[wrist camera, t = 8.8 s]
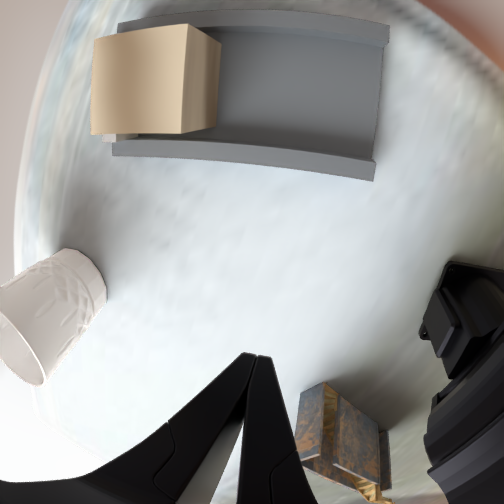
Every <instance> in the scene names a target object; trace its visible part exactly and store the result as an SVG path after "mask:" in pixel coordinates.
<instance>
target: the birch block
mask: <svg viewBox="0 0 504 504" xmlns="http://www.w3.org/2000/svg"><path fill="white" fill-rule="evenodd" d="M221 47H222V44H221V43H219V42H218V41H216V40H215V39H213V38H211V37H210V36H208V35H207V34H205V33H203V32H202V31H200V30H198V29H196V28H195V27H193V26H191V25H190V24H178V25H169V26H161V27H154V28H147V29H141V30H135V31H130V32H124V33H119V34H115V35H110V36H105V37H101V38H97V39H95V40H94V50H93V63H92V79H91V135H97V134H129V133H168V134H182V133H187V132H191V131H196V130H201V129H206V128H211V127H216V119H217V102H218V87H219V73H220V59H221Z"/></svg>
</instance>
